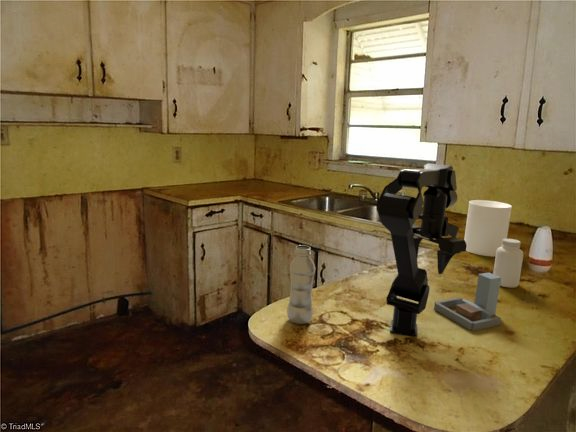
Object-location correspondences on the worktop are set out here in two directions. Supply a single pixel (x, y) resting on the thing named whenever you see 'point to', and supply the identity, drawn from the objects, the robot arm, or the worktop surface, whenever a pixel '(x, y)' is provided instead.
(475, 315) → the block
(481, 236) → the canister
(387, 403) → the worktop surface
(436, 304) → the grey u-shaped bar
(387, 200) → the robot arm
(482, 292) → the grey upright block
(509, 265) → the pill bottle
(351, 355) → the worktop surface
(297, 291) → the plastic bottle
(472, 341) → the worktop surface
